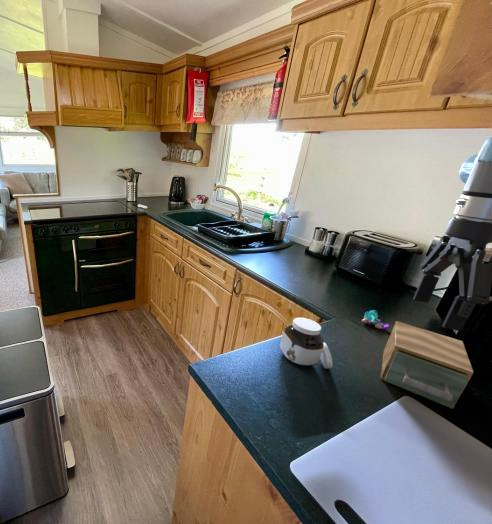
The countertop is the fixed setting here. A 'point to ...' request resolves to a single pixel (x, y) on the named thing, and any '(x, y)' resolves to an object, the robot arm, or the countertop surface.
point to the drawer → (426, 378)
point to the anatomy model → (368, 320)
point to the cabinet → (426, 349)
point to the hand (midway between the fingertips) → (434, 313)
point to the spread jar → (305, 344)
